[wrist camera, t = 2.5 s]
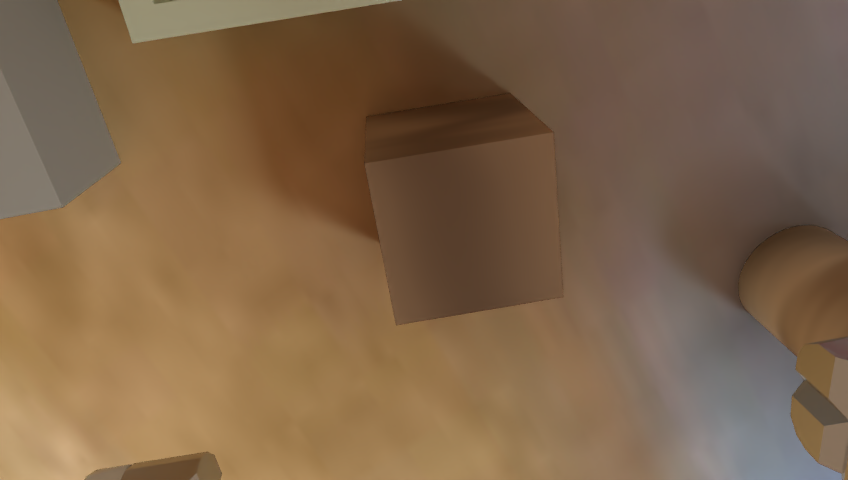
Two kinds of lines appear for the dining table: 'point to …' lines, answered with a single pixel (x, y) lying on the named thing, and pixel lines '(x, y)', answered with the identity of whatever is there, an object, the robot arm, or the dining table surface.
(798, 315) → the cork cylinder
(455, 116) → the walnut block
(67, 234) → the dining table surface
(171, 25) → the tray
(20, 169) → the slate block
